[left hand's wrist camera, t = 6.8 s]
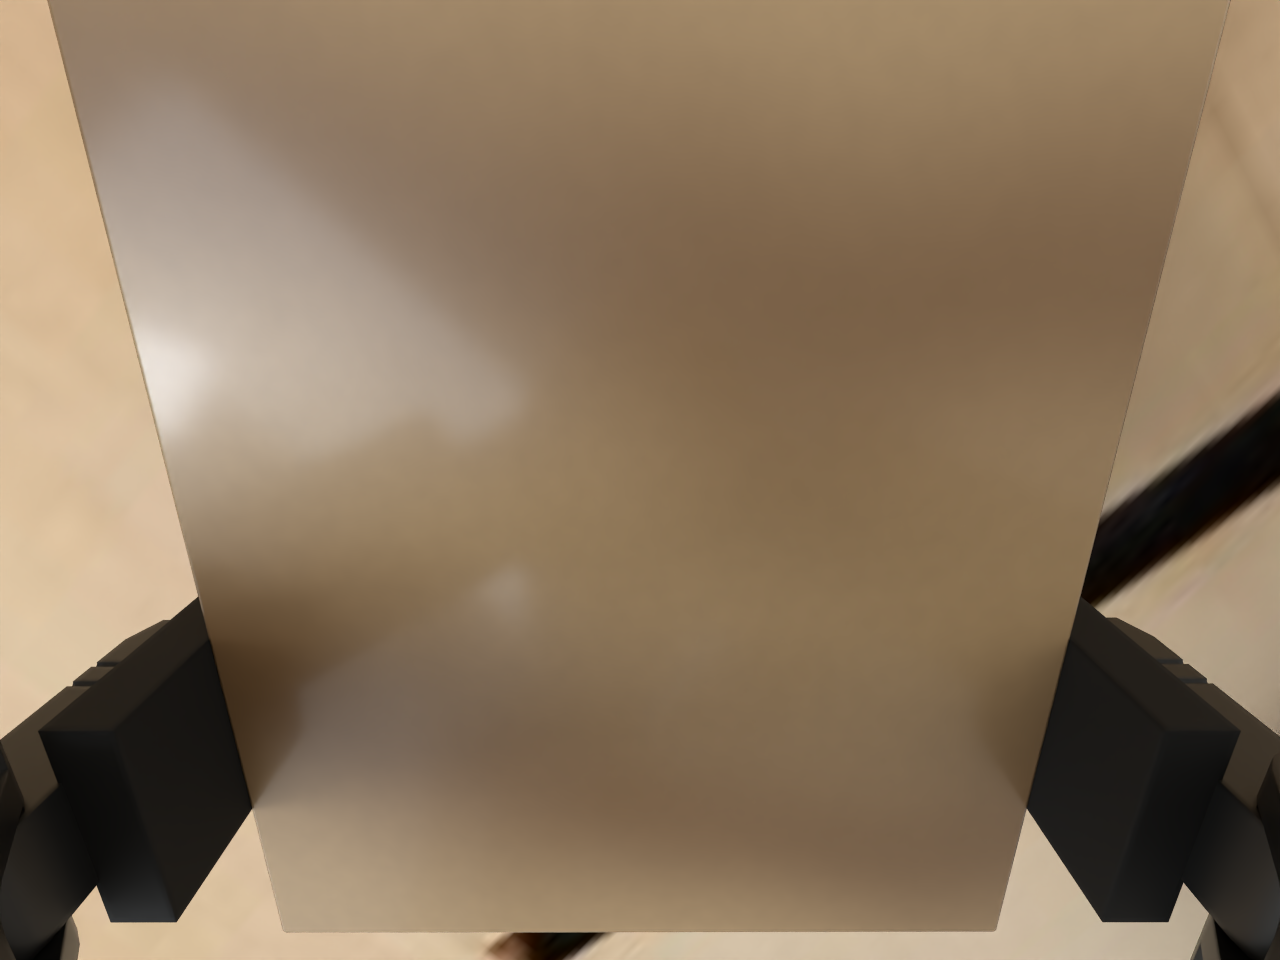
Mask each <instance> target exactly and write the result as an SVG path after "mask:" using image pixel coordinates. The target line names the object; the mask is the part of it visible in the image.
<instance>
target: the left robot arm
mask: <svg viewBox="0 0 1280 960" xmlns="http://www.w3.org/2000/svg"><path fill="white" fill-rule="evenodd" d="M1027 809H1028V811H1029V812H1030V814H1031V815H1032V817H1033V818H1034V820H1035V821H1036V823H1037V824H1038V826H1039V827H1040V829H1041V830H1042V832H1043V833H1044V835H1045V836H1046V838H1047V839H1048V841H1049V842H1050V844H1051V845H1052V847H1053V848H1054V850H1055V851H1056V853H1057V854H1058V856H1059V857H1060V859H1061V860H1062V862H1063V863H1064V865H1065V866H1066V868H1067V869H1068V871H1069V872H1070V874H1071V875H1072V877H1073V878H1074V880H1075V881H1076V883H1077V884H1078V886H1079V887H1080V889H1081V890H1082V892H1083V893H1084V895H1085V896H1086V898H1087V899H1088V901H1089V902H1090V904H1091V905H1092V907H1093V908H1094V910H1095V911H1096V913H1097V914H1098V916H1099V917H1100V919H1101V920H1102V922H1169V919H1170V916H1171V914H1172V911H1173V908H1174V906H1175V903H1176V901H1177V898H1178V895H1179V893H1180V890H1181V887H1182V885H1183V882H1184V884H1185V885H1186V886H1187V887H1188V888H1189V890H1190V891H1191V892H1192V893H1193V894H1194V896H1195V897H1196V898H1197V899H1198V900H1199V902H1200V903H1201V904H1202V905H1203V906H1204V908H1205V909H1206V910H1207V911H1208V912H1209V915H1208V918H1207V920H1206V923H1205V925H1204V927H1203V930H1202V932H1201V935H1200V937H1199V940H1198V942H1197V945H1196V947H1195V950H1194V952H1193V954H1192V957H1191V959H1190V960H1280V737H1279V736H1278V735H1277V734H1276V733H1274V732H1273V731H1272V730H1271V729H1269V728H1268V727H1267V726H1266V725H1264V724H1263V723H1262V722H1261V721H1259V720H1258V719H1257V718H1256V717H1254V716H1253V715H1252V714H1251V713H1249V712H1248V711H1247V710H1245V709H1244V708H1243V707H1242V706H1240V705H1239V704H1238V703H1237V702H1235V701H1234V700H1233V699H1232V698H1230V697H1229V696H1228V695H1227V694H1225V693H1224V692H1223V691H1222V690H1220V689H1219V688H1218V687H1217V686H1215V685H1214V684H1208V683H1207V678H1205V677H1204V676H1203V675H1201V674H1200V673H1199V672H1198V671H1196V670H1195V669H1194V668H1193V667H1191V666H1190V665H1189V664H1183V659H1181V658H1180V657H1179V656H1178V655H1176V654H1175V653H1174V652H1173V651H1171V650H1170V649H1169V648H1168V647H1166V646H1165V645H1164V644H1163V643H1161V642H1160V641H1159V640H1157V639H1156V638H1155V637H1153V636H1151V635H1150V634H1148V633H1146V632H1144V631H1142V630H1140V629H1138V628H1136V627H1134V626H1132V625H1130V624H1128V623H1126V622H1124V621H1122V620H1120V619H1118V618H1106V617H1105V616H1103V615H1102V614H1101V613H1100V612H1099V611H1097V610H1096V609H1095V608H1094V607H1093V606H1091V605H1090V604H1089V603H1088V602H1087V601H1085V600H1084V599H1083V598H1082V597H1081V596H1080V599H1079V603H1078V607H1077V611H1076V615H1075V619H1074V623H1073V627H1072V630H1071V634H1070V638H1069V642H1068V646H1067V650H1066V654H1065V658H1064V662H1063V666H1062V670H1061V674H1060V678H1059V682H1058V686H1057V690H1056V694H1055V698H1054V702H1053V706H1052V710H1051V714H1050V718H1049V722H1048V726H1047V730H1046V734H1045V737H1044V741H1043V745H1042V749H1041V753H1040V757H1039V761H1038V765H1037V769H1036V773H1035V777H1034V781H1033V785H1032V789H1031V793H1030V797H1029V801H1028V805H1027ZM251 810H252V806H251V802H250V798H249V794H248V790H247V786H246V782H245V778H244V774H243V770H242V766H241V762H240V758H239V754H238V751H237V747H236V743H235V739H234V735H233V731H232V727H231V723H230V719H229V715H228V711H227V707H226V703H225V699H224V695H223V691H222V687H221V683H220V679H219V676H218V672H217V668H216V664H215V660H214V656H213V652H212V648H211V644H210V640H209V636H208V632H207V628H206V624H205V620H204V616H203V612H202V608H201V605H200V601H199V597H197V598H196V599H195V600H194V601H193V602H191V603H190V604H189V605H188V606H187V607H185V608H184V609H183V610H182V611H181V612H179V613H178V614H177V615H176V616H175V617H173V618H172V619H171V620H163V621H161V622H159V623H157V624H155V625H153V626H151V627H149V628H147V629H145V630H143V631H141V632H139V633H137V634H135V635H133V636H131V637H129V638H127V639H126V640H124V641H123V642H122V643H121V644H119V645H118V646H117V647H116V648H114V649H113V650H112V651H111V652H109V653H108V654H107V655H106V656H104V657H103V658H102V659H101V660H99V661H98V662H97V666H96V667H91V668H89V669H88V670H87V671H86V672H84V673H83V674H82V675H81V676H79V677H78V678H77V679H76V680H74V681H73V686H67V687H66V688H64V689H63V690H62V691H61V692H59V693H58V694H57V695H56V696H54V697H53V698H52V699H51V700H49V701H48V702H47V703H46V704H44V705H43V706H42V707H41V708H39V709H38V710H37V711H36V712H34V713H33V714H32V715H31V716H29V717H28V718H27V719H26V720H24V721H23V722H22V723H21V724H19V725H18V726H17V727H16V728H14V729H13V730H12V731H11V732H9V733H8V734H7V735H6V736H4V737H3V738H2V739H1V740H0V960H77V959H78V952H79V945H80V943H79V937H78V931H77V927H76V925H75V923H74V920H73V918H72V914H73V913H74V912H75V911H76V909H77V908H78V907H79V906H80V905H81V903H82V902H83V901H84V900H85V899H86V897H87V896H88V895H89V894H90V893H91V891H92V890H93V889H94V888H95V886H96V885H97V888H98V890H99V893H100V895H101V898H102V901H103V903H104V906H105V909H106V911H107V914H108V916H109V919H110V922H177V921H178V919H179V918H180V916H181V915H182V913H183V912H184V910H185V909H186V907H187V906H188V904H189V903H190V901H191V900H192V898H193V897H194V895H195V894H196V892H197V891H198V889H199V888H200V886H201V885H202V883H203V882H204V880H205V879H206V877H207V876H208V874H209V873H210V871H211V870H212V868H213V867H214V865H215V864H216V862H217V861H218V859H219V858H220V856H221V855H222V853H223V852H224V850H225V849H226V847H227V846H228V844H229V843H230V841H231V840H232V838H233V837H234V835H235V834H236V832H237V831H238V829H239V828H240V826H241V825H242V823H243V822H244V820H245V819H246V817H247V816H248V814H249V813H250V811H251Z"/></svg>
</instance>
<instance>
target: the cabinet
mask: <svg viewBox="0 0 1280 960" xmlns="http://www.w3.org/2000/svg"><path fill="white" fill-rule="evenodd" d="M47 1H48V5H49V9H50V13H51V17H52V21H53V24H54V28H55V32H56V36H57V40H58V44H59V48H60V52H61V56H62V60H63V64H64V68H65V72H66V76H67V80H68V84H69V88H70V92H71V95H72V99H73V103H74V107H75V111H76V115H77V119H78V123H79V127H80V131H81V135H82V139H83V143H84V147H85V151H86V155H87V159H88V163H89V167H90V170H91V174H92V178H93V182H94V186H95V190H96V194H97V198H98V202H99V206H100V210H101V214H102V218H103V222H104V226H105V230H106V234H107V238H108V241H109V245H110V249H111V253H112V257H113V261H114V265H115V269H116V273H117V277H118V281H119V285H120V289H121V293H122V297H123V301H124V305H125V309H126V313H127V316H128V320H129V324H130V328H131V332H132V336H133V340H134V344H135V348H136V352H137V356H138V360H139V364H140V368H141V372H142V376H143V380H144V384H145V387H146V391H147V395H148V399H149V403H150V407H151V411H152V415H153V419H154V423H155V427H156V431H157V435H158V439H159V443H160V447H161V451H162V455H163V459H164V462H165V466H166V470H167V474H168V478H169V482H170V486H171V490H172V494H173V498H174V502H175V506H176V510H177V514H178V518H179V522H180V526H181V530H182V533H183V537H184V541H185V545H186V549H187V553H188V557H189V561H190V565H191V569H192V573H193V577H194V581H195V585H196V589H197V593H198V597H199V601H200V605H201V608H202V612H203V616H204V620H205V624H206V628H207V632H208V636H209V640H210V644H211V648H212V652H213V656H214V660H215V664H216V668H217V672H218V676H219V679H220V683H221V687H222V691H223V695H224V699H225V703H226V707H227V711H228V715H229V719H230V723H231V727H232V731H233V735H234V739H235V743H236V747H237V751H238V754H239V758H240V762H241V766H242V770H243V774H244V778H245V782H246V786H247V790H248V794H249V798H250V802H251V806H252V810H253V814H254V818H255V822H256V825H257V829H258V833H259V837H260V841H261V845H262V849H263V853H264V857H265V861H266V865H267V869H268V873H269V877H270V881H271V885H272V889H273V893H274V896H275V900H276V904H277V908H278V912H279V916H280V920H281V924H282V928H283V931H284V932H286V933H313V932H993V931H995V930H996V928H997V924H998V920H999V916H1000V912H1001V908H1002V904H1003V900H1004V896H1005V892H1006V888H1007V884H1008V880H1009V876H1010V872H1011V868H1012V864H1013V860H1014V856H1015V852H1016V848H1017V844H1018V841H1019V837H1020V833H1021V829H1022V825H1023V821H1024V817H1025V813H1026V809H1027V805H1028V801H1029V797H1030V793H1031V789H1032V785H1033V781H1034V777H1035V773H1036V769H1037V765H1038V761H1039V757H1040V753H1041V749H1042V745H1043V741H1044V737H1045V734H1046V730H1047V726H1048V722H1049V718H1050V714H1051V710H1052V706H1053V702H1054V698H1055V694H1056V690H1057V686H1058V682H1059V678H1060V674H1061V670H1062V666H1063V662H1064V658H1065V654H1066V650H1067V646H1068V642H1069V638H1070V634H1071V630H1072V627H1073V623H1074V619H1075V615H1076V611H1077V607H1078V603H1079V599H1080V595H1081V591H1082V587H1083V583H1084V579H1085V575H1086V571H1087V567H1088V563H1089V559H1090V555H1091V551H1092V547H1093V543H1094V539H1095V535H1096V531H1097V527H1098V523H1099V520H1100V516H1101V512H1102V508H1103V504H1104V500H1105V496H1106V492H1107V488H1108V484H1109V480H1110V476H1111V472H1112V468H1113V464H1114V460H1115V456H1116V452H1117V448H1118V444H1119V440H1120V436H1121V432H1122V428H1123V424H1124V420H1125V416H1126V412H1127V409H1128V405H1129V401H1130V397H1131V393H1132V389H1133V385H1134V381H1135V377H1136V373H1137V369H1138V365H1139V361H1140V357H1141V353H1142V349H1143V345H1144V341H1145V337H1146V333H1147V329H1148V325H1149V321H1150V317H1151V313H1152V309H1153V305H1154V302H1155V298H1156V294H1157V290H1158V286H1159V282H1160V278H1161V274H1162V270H1163V266H1164V262H1165V258H1166V254H1167V250H1168V246H1169V242H1170V238H1171V234H1172V230H1173V226H1174V222H1175V218H1176V214H1177V210H1178V206H1179V202H1180V198H1181V195H1182V191H1183V187H1184V183H1185V179H1186V175H1187V171H1188V167H1189V163H1190V159H1191V155H1192V151H1193V147H1194V143H1195V139H1196V135H1197V131H1198V127H1199V123H1200V119H1201V115H1202V111H1203V107H1204V103H1205V99H1206V95H1207V91H1208V88H1209V84H1210V80H1211V76H1212V72H1213V68H1214V64H1215V60H1216V56H1217V52H1218V48H1219V44H1220V40H1221V36H1222V32H1223V28H1224V24H1225V20H1226V16H1227V12H1228V8H1229V4H1230V0H47Z"/></svg>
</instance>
